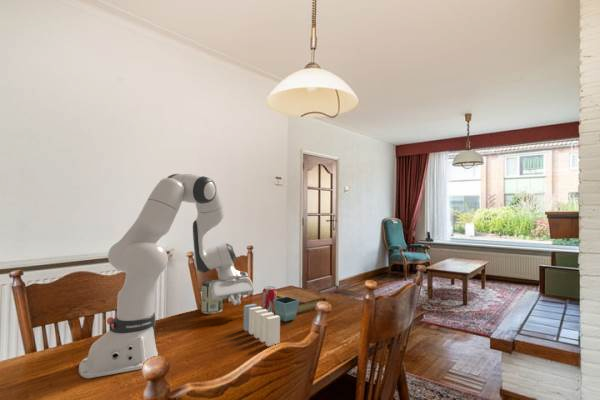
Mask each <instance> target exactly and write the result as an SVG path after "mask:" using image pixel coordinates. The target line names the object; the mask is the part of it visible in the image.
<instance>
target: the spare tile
mask: <svg viewBox="0 0 600 400" xmlns="http://www.w3.org/2000/svg"><path fill="white" fill-rule="evenodd" d="M254 307H258V305H257V303H251V304H246V305H243V331H245V332H249V308H254Z"/></svg>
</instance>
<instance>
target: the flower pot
mask: <svg viewBox="0 0 600 400" xmlns="http://www.w3.org/2000/svg"><path fill="white" fill-rule="evenodd" d="M273 303H274V310H275V312H274V313H275V316H276V315H278V316H280V321H282V322H284V323H285V322H290V321H292V320H294V319H295V318H296V316H297V315H298V314H297V311H298V305H299V300H297V299H294V298H291V297H283V298H278V299H274V300H273Z"/></svg>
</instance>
